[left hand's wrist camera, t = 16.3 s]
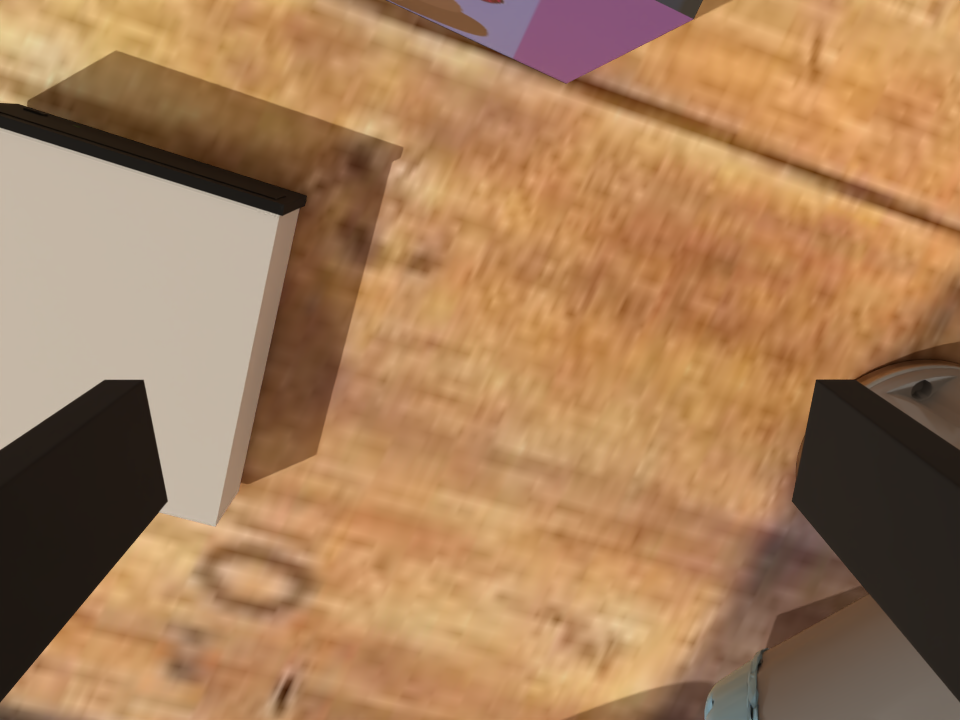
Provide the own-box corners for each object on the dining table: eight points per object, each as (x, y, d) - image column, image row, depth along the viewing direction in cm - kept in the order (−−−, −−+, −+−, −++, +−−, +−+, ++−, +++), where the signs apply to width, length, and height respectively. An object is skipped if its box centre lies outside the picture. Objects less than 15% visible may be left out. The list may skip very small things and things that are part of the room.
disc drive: (307, 193, 40) (284, 202, 35) (242, 490, 47) (216, 530, 42) (18, 101, 38) (-47, 98, 33) (-2, 425, 45) (-57, 459, 40)
